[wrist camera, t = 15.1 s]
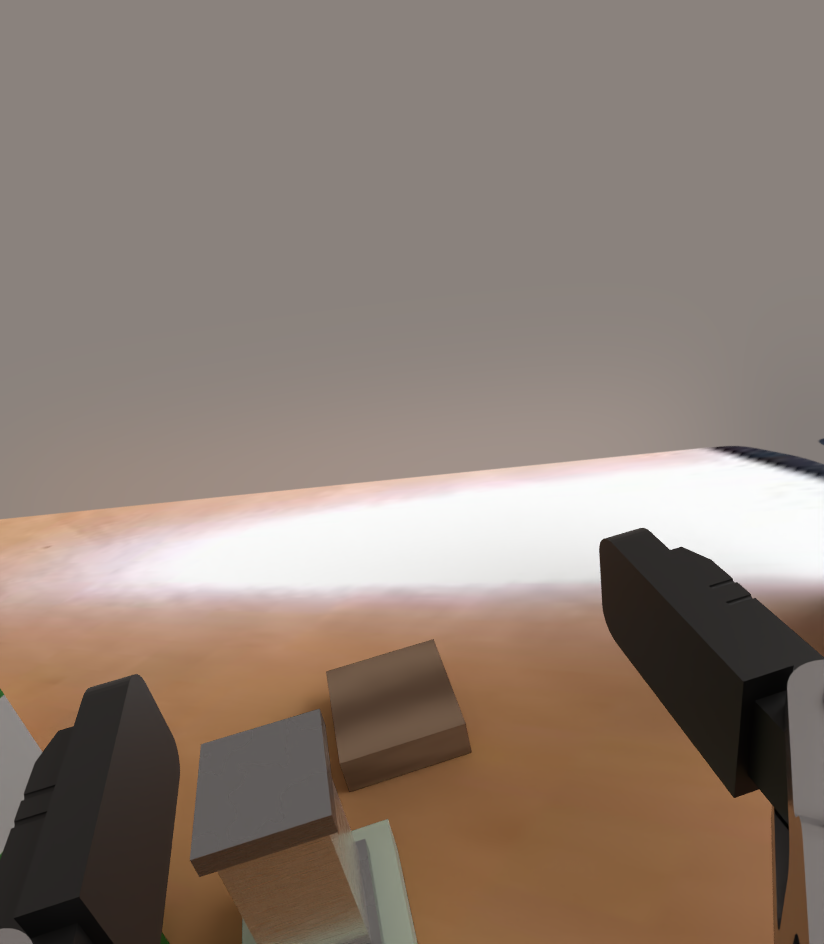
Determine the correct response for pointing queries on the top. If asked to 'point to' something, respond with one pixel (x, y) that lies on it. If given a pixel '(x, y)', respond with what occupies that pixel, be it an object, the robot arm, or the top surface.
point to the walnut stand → (395, 715)
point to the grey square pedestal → (283, 837)
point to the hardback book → (15, 768)
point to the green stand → (381, 886)
